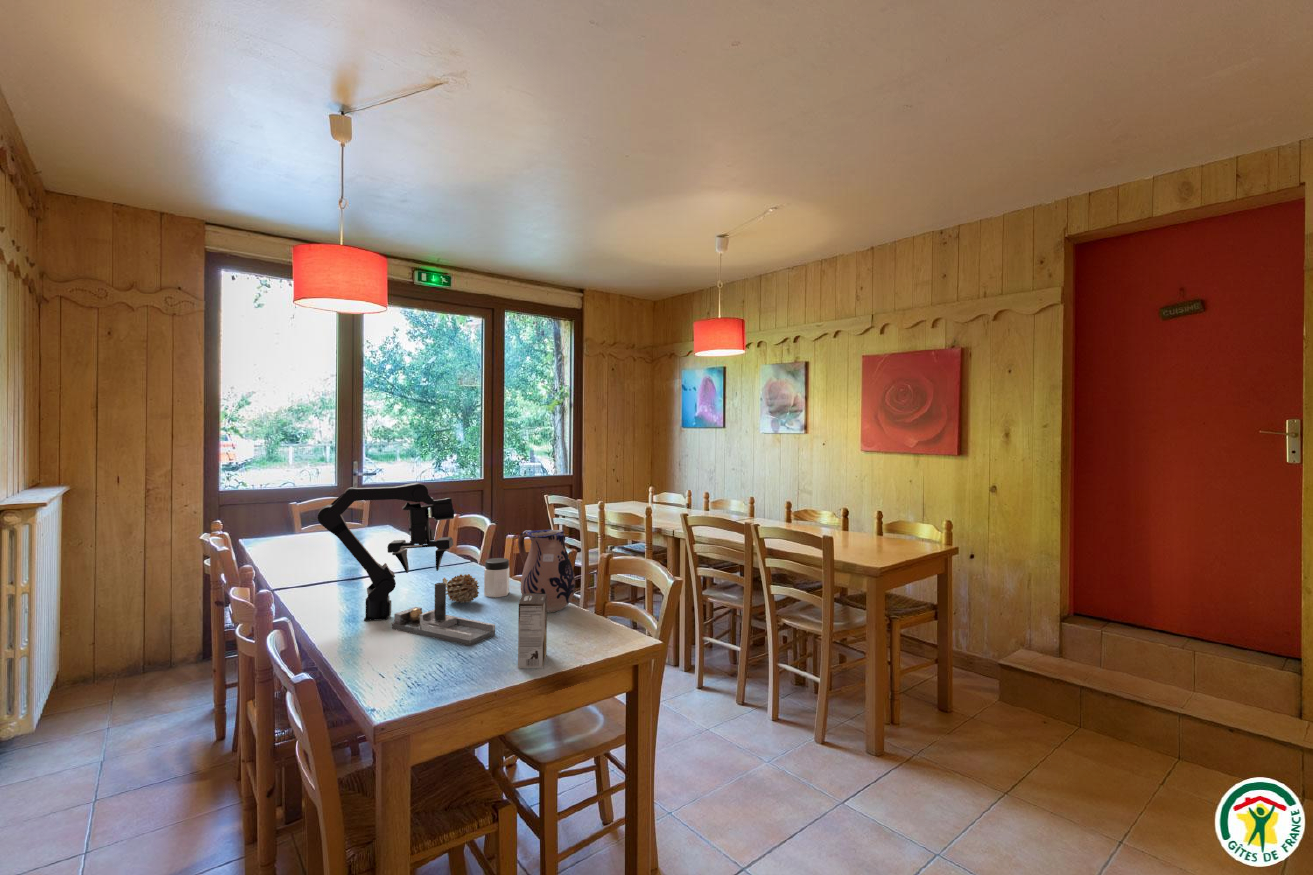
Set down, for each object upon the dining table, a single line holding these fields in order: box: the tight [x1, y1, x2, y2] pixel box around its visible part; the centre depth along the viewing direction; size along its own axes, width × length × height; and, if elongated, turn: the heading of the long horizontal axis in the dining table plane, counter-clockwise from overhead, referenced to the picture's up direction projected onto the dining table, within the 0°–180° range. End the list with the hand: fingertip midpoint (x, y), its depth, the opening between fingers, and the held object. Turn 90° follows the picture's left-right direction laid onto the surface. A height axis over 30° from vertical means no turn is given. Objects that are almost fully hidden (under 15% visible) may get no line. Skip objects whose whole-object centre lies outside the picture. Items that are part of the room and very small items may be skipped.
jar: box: [483, 557, 510, 598], centre depth 215 cm, size 9×8×12 cm
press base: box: [390, 606, 496, 647], centre depth 175 cm, size 30×10×5 cm, turn 64°
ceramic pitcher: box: [517, 529, 576, 613], centre depth 199 cm, size 18×21×25 cm
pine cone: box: [442, 573, 480, 604], centre depth 206 cm, size 22×10×10 cm, turn 49°
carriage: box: [420, 582, 458, 628], centre depth 176 cm, size 7×7×12 cm
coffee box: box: [517, 593, 548, 669], centre depth 154 cm, size 9×6×16 cm
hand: (422, 571), depth 193 cm, fingers open, 9 cm apart
